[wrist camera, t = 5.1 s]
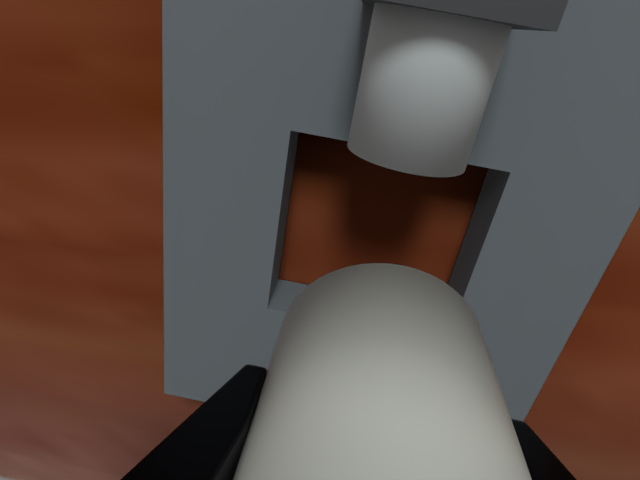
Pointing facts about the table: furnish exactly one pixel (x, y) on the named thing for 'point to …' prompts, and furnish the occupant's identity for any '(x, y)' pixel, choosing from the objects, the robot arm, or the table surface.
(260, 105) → the shaft mount
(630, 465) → the table surface
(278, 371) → the coupler
